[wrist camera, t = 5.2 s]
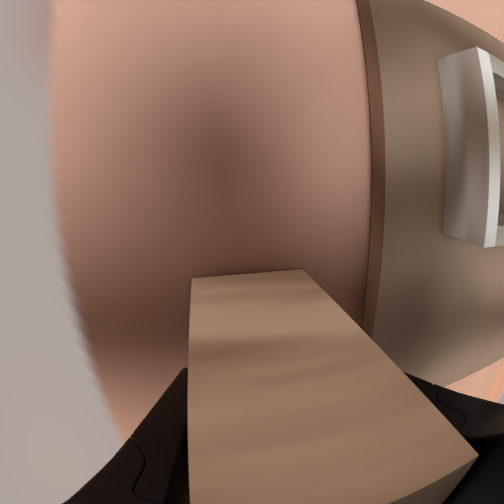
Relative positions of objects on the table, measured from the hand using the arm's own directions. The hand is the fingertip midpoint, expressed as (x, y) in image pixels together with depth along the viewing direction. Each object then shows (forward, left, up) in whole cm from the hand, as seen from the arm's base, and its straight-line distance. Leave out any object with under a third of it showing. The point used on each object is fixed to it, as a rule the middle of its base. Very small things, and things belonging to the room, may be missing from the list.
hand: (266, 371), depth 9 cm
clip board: (+4, -12, -3) cm, 13 cm away
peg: (0, 0, -3) cm, 3 cm away
